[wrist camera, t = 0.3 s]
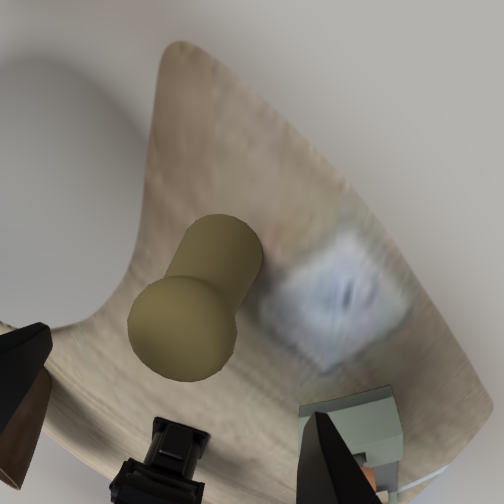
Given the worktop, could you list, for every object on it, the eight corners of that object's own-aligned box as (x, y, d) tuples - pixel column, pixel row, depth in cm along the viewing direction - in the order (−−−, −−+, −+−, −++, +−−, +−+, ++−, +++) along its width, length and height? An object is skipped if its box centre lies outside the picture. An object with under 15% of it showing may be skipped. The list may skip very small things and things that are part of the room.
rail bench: (395, 493, 36) (399, 523, 30) (341, 505, 38) (342, 534, 32) (390, 385, 26) (403, 433, 20) (299, 406, 28) (298, 456, 23)
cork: (272, 283, 23) (257, 396, 13) (197, 297, 25) (144, 401, 14) (249, 204, 21) (210, 279, 11) (169, 226, 23) (86, 303, 12)
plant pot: (67, 421, 37) (21, 497, 22) (-5, 362, 35) (-60, 424, 20) (84, 378, 31) (17, 479, 16) (-5, 302, 29) (-86, 375, 14)
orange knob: (372, 460, 23) (376, 495, 19) (338, 467, 23) (340, 503, 20) (369, 444, 22) (375, 483, 18) (333, 452, 22) (335, 491, 19)
